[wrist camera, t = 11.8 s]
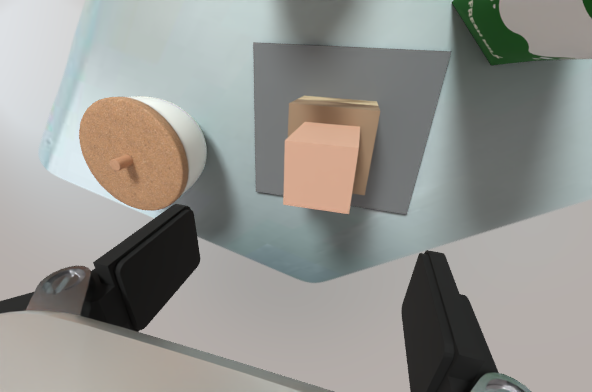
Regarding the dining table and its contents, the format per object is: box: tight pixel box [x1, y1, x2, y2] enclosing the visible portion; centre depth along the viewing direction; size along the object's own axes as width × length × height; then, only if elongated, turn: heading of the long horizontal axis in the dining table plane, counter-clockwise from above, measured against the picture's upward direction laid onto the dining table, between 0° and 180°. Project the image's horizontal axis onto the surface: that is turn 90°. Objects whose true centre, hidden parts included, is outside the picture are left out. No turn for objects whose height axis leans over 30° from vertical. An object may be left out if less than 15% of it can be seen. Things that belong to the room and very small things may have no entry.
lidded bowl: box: [79, 96, 207, 210], centre depth 32 cm, size 13×13×11 cm
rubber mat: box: [253, 42, 451, 214], centre depth 31 cm, size 20×18×1 cm
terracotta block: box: [283, 122, 360, 214], centre depth 22 cm, size 5×5×7 cm
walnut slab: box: [288, 99, 380, 195], centre depth 27 cm, size 8×8×4 cm
